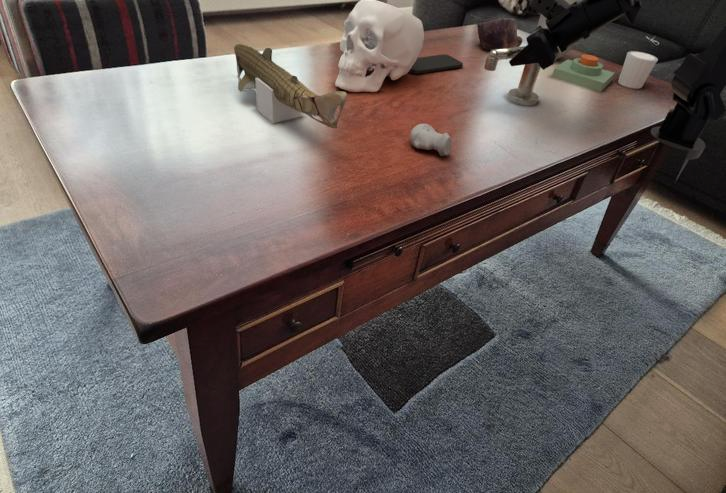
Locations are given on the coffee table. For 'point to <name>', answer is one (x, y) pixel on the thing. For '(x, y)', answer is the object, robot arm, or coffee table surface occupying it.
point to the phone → (435, 64)
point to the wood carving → (283, 90)
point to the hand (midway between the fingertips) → (510, 63)
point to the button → (589, 60)
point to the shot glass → (636, 69)
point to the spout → (500, 56)
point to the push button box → (583, 74)
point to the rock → (498, 34)
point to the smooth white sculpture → (430, 139)
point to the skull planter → (377, 45)
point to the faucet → (526, 86)
